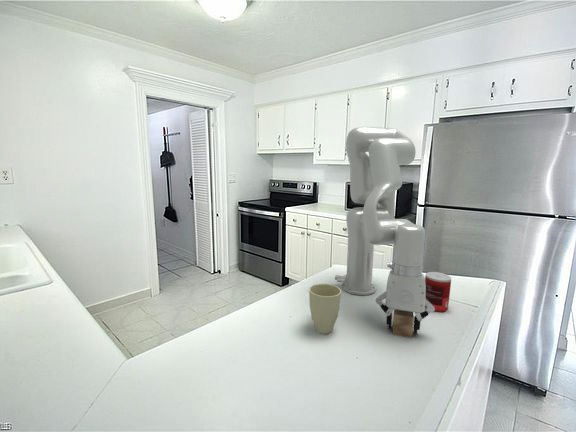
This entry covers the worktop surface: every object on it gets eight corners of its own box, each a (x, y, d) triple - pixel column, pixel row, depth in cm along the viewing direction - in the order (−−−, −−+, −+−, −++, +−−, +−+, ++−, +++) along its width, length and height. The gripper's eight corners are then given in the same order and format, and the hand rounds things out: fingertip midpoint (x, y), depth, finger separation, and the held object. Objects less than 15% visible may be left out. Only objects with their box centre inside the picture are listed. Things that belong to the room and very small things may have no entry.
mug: (347, 327, 85) (349, 288, 83) (327, 342, 78) (328, 299, 76) (317, 314, 92) (318, 278, 90) (296, 326, 85) (297, 287, 83)
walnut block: (392, 334, 82) (394, 314, 81) (392, 325, 86) (394, 306, 85) (412, 337, 80) (413, 317, 79) (411, 328, 85) (412, 309, 84)
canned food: (442, 302, 102) (445, 272, 100) (452, 313, 94) (456, 280, 92) (419, 300, 102) (421, 271, 101) (427, 311, 95) (430, 279, 93)
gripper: (373, 269, 80) (370, 330, 82) (444, 277, 74) (437, 342, 77) (375, 261, 87) (371, 317, 89) (439, 268, 81) (434, 328, 84)
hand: (402, 328), depth 83 cm, fingers open, 6 cm apart
